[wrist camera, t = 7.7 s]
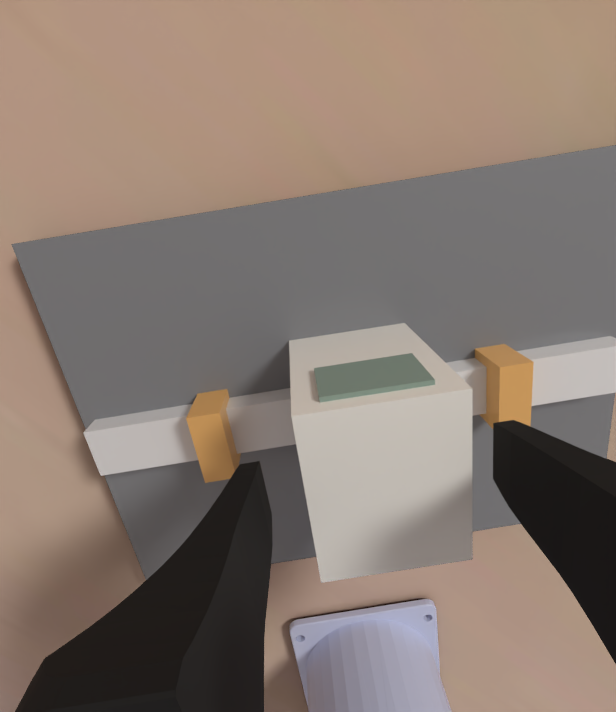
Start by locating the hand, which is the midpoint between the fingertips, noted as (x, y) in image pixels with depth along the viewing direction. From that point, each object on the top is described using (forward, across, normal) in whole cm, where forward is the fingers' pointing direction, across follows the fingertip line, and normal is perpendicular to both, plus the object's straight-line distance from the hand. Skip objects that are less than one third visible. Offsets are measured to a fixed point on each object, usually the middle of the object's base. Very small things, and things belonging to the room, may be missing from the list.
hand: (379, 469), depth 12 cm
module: (+5, 0, 0) cm, 5 cm away
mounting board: (+6, 0, 0) cm, 6 cm away
